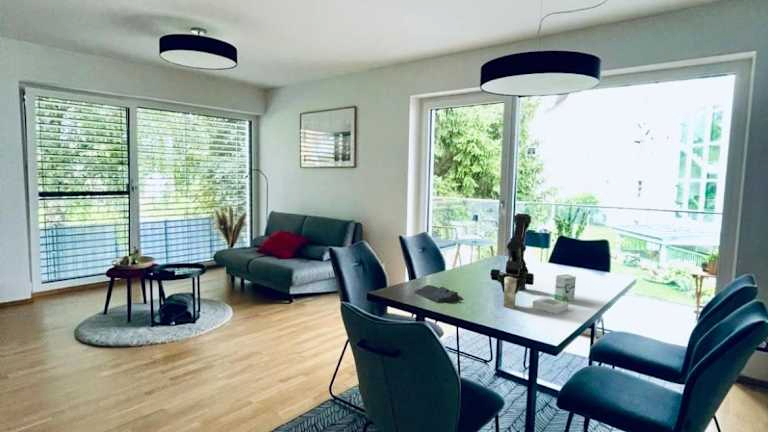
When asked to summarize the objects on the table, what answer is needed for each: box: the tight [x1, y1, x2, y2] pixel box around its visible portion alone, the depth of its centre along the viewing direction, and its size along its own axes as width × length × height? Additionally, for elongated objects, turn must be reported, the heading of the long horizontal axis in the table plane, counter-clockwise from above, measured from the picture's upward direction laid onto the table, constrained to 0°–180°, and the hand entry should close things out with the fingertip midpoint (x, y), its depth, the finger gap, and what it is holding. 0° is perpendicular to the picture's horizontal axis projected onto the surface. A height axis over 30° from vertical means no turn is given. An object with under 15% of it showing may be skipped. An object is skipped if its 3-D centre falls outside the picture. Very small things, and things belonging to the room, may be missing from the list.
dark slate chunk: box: [413, 284, 464, 304], centre depth 204 cm, size 15×22×5 cm
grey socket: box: [532, 296, 569, 315], centre depth 190 cm, size 11×11×3 cm
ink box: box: [554, 274, 577, 302], centre depth 204 cm, size 9×5×12 cm, turn 120°
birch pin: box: [502, 277, 517, 309], centre depth 191 cm, size 5×5×13 cm
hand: (509, 292), depth 190 cm, fingers closed on birch pin, 5 cm apart
